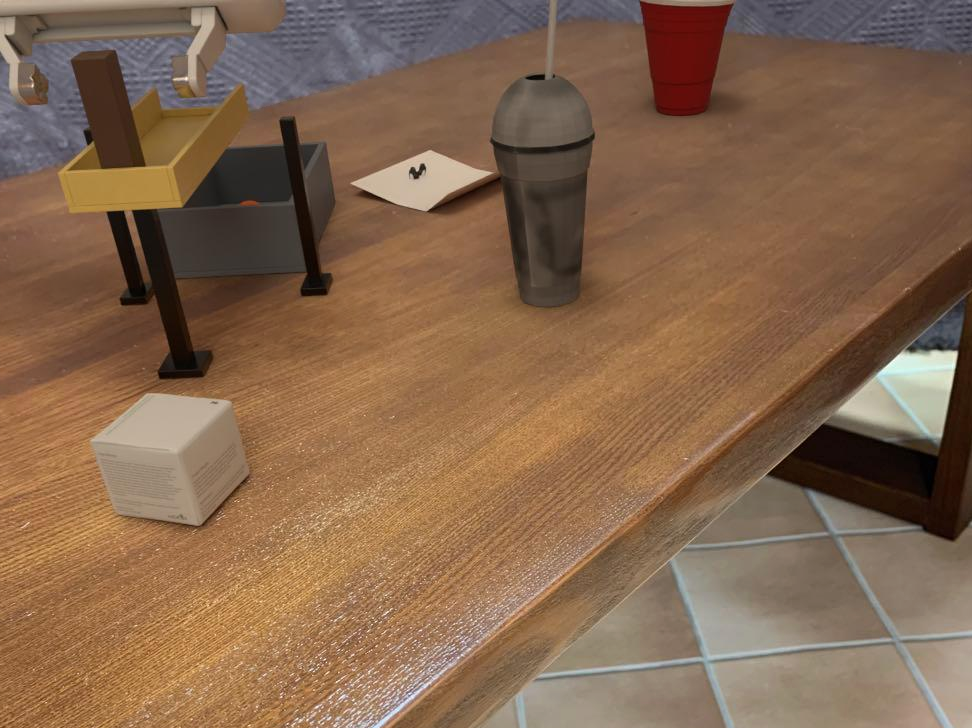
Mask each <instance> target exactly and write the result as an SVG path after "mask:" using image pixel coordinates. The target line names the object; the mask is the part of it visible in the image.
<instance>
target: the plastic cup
mask: <svg viewBox="0 0 972 728" xmlns="http://www.w3.org/2000/svg"><path fill="white" fill-rule="evenodd" d="M736 2H738V0H638V3H639V6H640V13H641V15H642V26H643V27H644V35H645V43H646V52H647V59H648V60H647V61H648V68H649V75H650V79H651V84H652V92H653V101H654V104H655V107H656V111H657V112H659V113H661V114H664V115H665V114H666V115H672V116H687V115H689V116H690V115H696V114H700V113H703V112H705V111H706V110H707V109H708V105H709V103H710V101H711V94H712V89H713V83H714V78H715V77H716V73H717V67H718V64H719V58H720V53H721V51H722V50H721V49H722V44H723V39H724V35H725V30H726V27H727V25H728V20H729V17H730V15H731V13H732V12H731V11H732V9H733V7H734V6H735V3H736Z"/></svg>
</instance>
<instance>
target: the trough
mask: <svg viewBox="0 0 972 728" xmlns="http://www.w3.org/2000/svg"><path fill="white" fill-rule="evenodd" d="M70 63H71V67H72V69H73V70H72V71H73V75H74V78H75V81H76V85H77V88H78V91H79V96H80V98H81V102H82V106H83V109H84V113H85V117H86V120H87V123H88V127H90V131H91V134H92V138H93V142H92V143H91V144H90V145H88V146H87V145H86V147H85V148H84V149H82V151H81V152H80V153H78V154H77V155H76V156H75V157H73V159H72V160H70V161H69V163H68V164H66V165H65V166H64V167H63V168H62V169H60V170H59V171H58V173H57V176H58V179H59V183H60V185H61V189H62V192H63V195H64V197H65V198H64V199H65V202H66V204H67V208H68V211H69V214H83V213H101V212H103V213H104V212H106V211H123V210H124V211H132V210H142V209H161V208H180V207H183V206H184V205H185V203H186V202H187V201H188V199H189V198H190V197H191V195H192V194H193V193H194V191H195V190H196V189H197V187H198V186H199V185H200V183H201V182H202V181H203V179H204V178H205V176H206V175H207V174H208V172H209V171H210V170H211V168H212V167H213V166H214V164H215V163H216V162H217V160H218V159H219V158H220V156H221V155H222V154H223V152H224V151H225V150H226V148H227V147H230V145H231V143H232V142H233V141H234V139H235V138H236V136H237V135H238V134H239V132H240V131H241V130H242V128H244V126H245V125H246V123H247V121H248V120H249V119H250V117H251V114H250V110H249V103H248V98H247V95H246V89H245V84H244V83H243V82H239V83H237V84H236V85H235V86H234V88H233V89H232V90H231V91H230V93H229V94H228V95H227V96H226V97H225V98H224V99H223V101H222V102H221V103H220V104H219V105H213V106H196V107H195V106H194V107H176V108H162V104H161V100H160V99H161V98H160V96H159V92H158V88H157V87H151V88H150V89H149V90H148V91H146V93H145V94H144V95H142V97H140V98H139V99H138V100H137V101H136V102H134V104H133V105H131V103H130V99H129V95H128V91H127V86H126V83H125V80H124V76H123V73H122V69H121V65H120V61H119V57H118V53H117V50H116V49H102V50H82V51H81V52H79V53H78V54H76V55H75V56H73V57H72V58H70Z"/></svg>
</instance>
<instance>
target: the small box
mask: <svg viewBox="0 0 972 728" xmlns="http://www.w3.org/2000/svg"><path fill="white" fill-rule="evenodd" d="M89 443H90V446H91V449H92V452H93V455H94V457H95V460H96V463H97V466H98V469H99V472H100V475H101V478H102V480H103V483H104V486H105V489H106V491H107V495H108V498H109V500H110V503H111V506H112V509H113V511H114V513H115V514H116V515H119V516H125V517H130V518H131V517H132V518H137V519H144V520H145V519H146V520H155V521H163V522H169V523H175V524H182V525H190V526H197V527H200V526H203V524H204V523H205V522H206V521H207V520H208V518H209V517H210V516H212V514H213V513H214V512H215V511H216V510H217V508H219V507H220V506H221V504H223V502H225V500H226V499H227V498H228V497H229V496H230V495H231V494H232V493H233V492H234V491H235V489H237V488H238V486H239V485H241V483H243V481H245V479H247V477H248V476H249V475H250V474H251V472H250V467H249V464H248V460H247V456H246V452H245V447H244V444H243V440H242V436H241V432H240V427H239V423H238V420H237V416H236V412H235V408H234V404H233V402H232V401H231V400H229V399H221V398H220V399H219V398H211V397H210V398H208V397H197V396H186V395H177V394H171V393H158V392H156V393H155V392H147V393H145V394H144V395H143V396H142V397H141V398H139V399H138V400H137V401H136V402H135V403H134V404H133V405H131V406H130V407H129V408H128V409H127V410H125V411H124V412H123V413H122V414H120V415H119V416H118V417H117V418H116V419H115V420H113V421H112V422H110V424H109V425H107V426H106V427H105V428H103V429H102V430H101V431H100V432H99V433H97V434H96V435H95V436H93V437H92V438H91V439H90V440H89Z"/></svg>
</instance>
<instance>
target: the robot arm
mask: <svg viewBox="0 0 972 728" xmlns="http://www.w3.org/2000/svg"><path fill="white" fill-rule="evenodd" d="M286 15H287V0H0V53H1V55H2V58H3V59H4V60H5V62H6V64H7V65H8V66H9V75H8V76H9V77H8V80H9V81H8V88H9V89H8V90H9V92H10V94H11V97H12V98H13V99H14V100H15V101H16V102H17V103H18V104H19V106H22V107H23V106H25V107H26V106H43V105H48V102H49V96H48V95H47V93H48V92H49V90H50V89H49V85H50V81H49V78H47V76H46V75H45V73H43V72H41V69H40V68H39V66H38V65H37V64H36V63H35V62H26V61H25V59H24V58H23V57H25V58H26V57H31V56H33V44H47V43H49V44H50V43H69V42H89V41H109V40H112V41H113V40H130V39H151V38H175V37H193V36H195V37H194V39H193V41H192V42H191V44H190V45H189V48H188V50H187V52H186V53H185V55H173V56H171V68H172V70H173V71H172V72H171V84H172V87H173V89H174V91H175V92H177V96H178V98H179V99H194V98H195V99H197V98H198V99H199V98H206V97H207V77H208V76H207V75H208V74H207V73H210V71H211V70H212V68H214V65H215V64H216V63H217V61H218V60H219V58H220V56H221V55H222V53H223V52H224V51H225V50H226V48H227V35H234V34H257V33H258V34H259V33H271V32H273V31H275V30H276V29H277V28H278V27H279V26H280V25H281V23H282V22H283V20H284V19H285V17H286Z"/></svg>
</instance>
